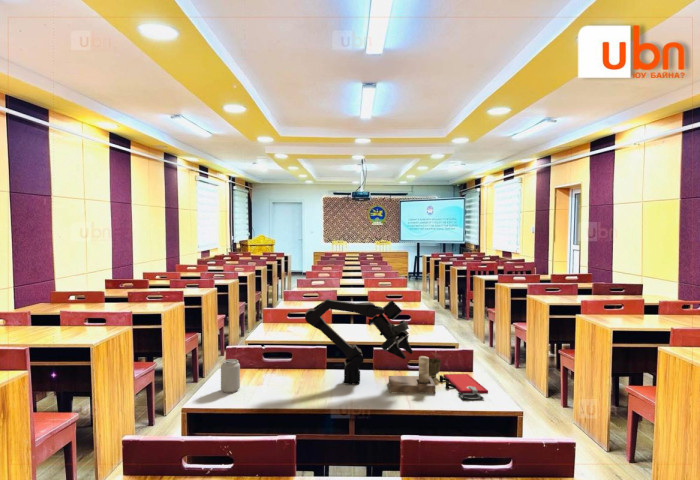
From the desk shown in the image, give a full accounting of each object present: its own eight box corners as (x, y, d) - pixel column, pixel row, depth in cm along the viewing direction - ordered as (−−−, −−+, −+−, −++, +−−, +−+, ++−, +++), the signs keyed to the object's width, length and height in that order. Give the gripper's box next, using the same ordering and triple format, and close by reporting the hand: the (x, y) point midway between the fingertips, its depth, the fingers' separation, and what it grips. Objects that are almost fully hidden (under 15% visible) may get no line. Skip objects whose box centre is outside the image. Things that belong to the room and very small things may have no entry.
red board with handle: (458, 401, 169) (495, 400, 171) (458, 393, 169) (496, 393, 171) (435, 377, 199) (467, 377, 201) (435, 371, 199) (467, 370, 201)
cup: (439, 375, 201) (440, 357, 201) (441, 380, 193) (441, 362, 193) (423, 374, 201) (423, 357, 201) (424, 379, 194) (424, 361, 194)
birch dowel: (419, 390, 180) (419, 358, 180) (417, 387, 185) (418, 356, 184) (429, 390, 180) (429, 358, 180) (427, 387, 184) (428, 356, 184)
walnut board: (390, 392, 178) (390, 385, 178) (388, 382, 190) (388, 375, 190) (435, 393, 177) (435, 385, 177) (430, 383, 189) (430, 376, 189)
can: (217, 390, 179) (217, 360, 179) (233, 385, 185) (233, 357, 184) (227, 394, 174) (227, 364, 174) (243, 390, 179) (243, 360, 179)
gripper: (389, 318, 179) (414, 349, 174) (404, 311, 196) (428, 339, 191) (371, 335, 183) (395, 366, 178) (387, 327, 199) (410, 355, 194)
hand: (408, 355), depth 185 cm, fingers open, 9 cm apart
